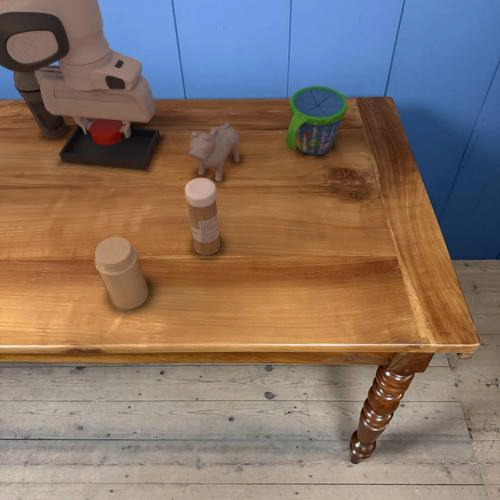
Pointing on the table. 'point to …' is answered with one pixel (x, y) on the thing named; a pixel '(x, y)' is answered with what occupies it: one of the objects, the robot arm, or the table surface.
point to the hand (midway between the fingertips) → (108, 134)
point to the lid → (106, 131)
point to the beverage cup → (38, 105)
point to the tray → (112, 149)
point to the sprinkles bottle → (203, 215)
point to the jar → (121, 273)
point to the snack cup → (315, 119)
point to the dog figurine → (214, 148)
